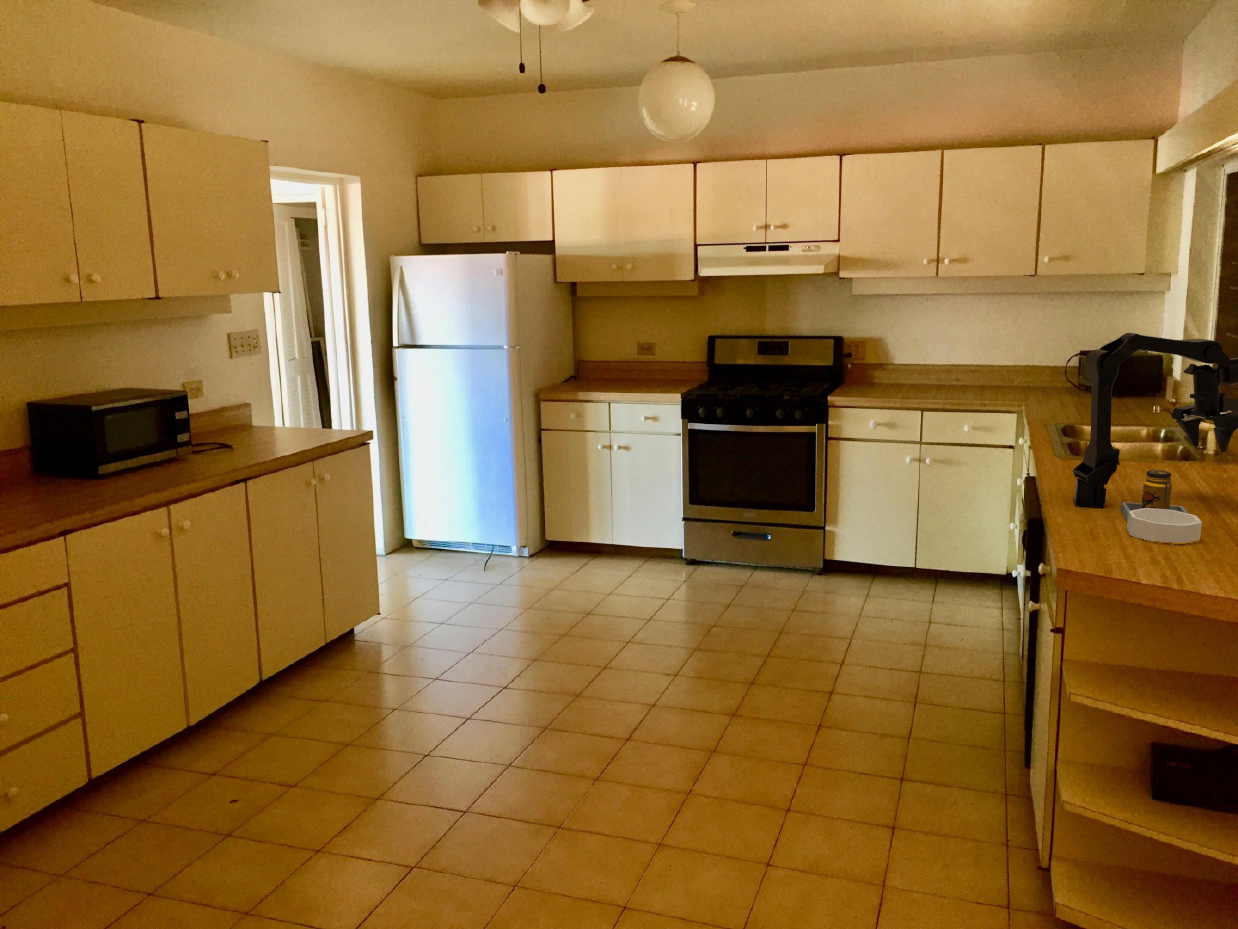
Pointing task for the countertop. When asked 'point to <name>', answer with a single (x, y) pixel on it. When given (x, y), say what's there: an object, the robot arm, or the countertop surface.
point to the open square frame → (1134, 506)
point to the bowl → (1164, 525)
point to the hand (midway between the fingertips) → (1209, 449)
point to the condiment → (1157, 490)
